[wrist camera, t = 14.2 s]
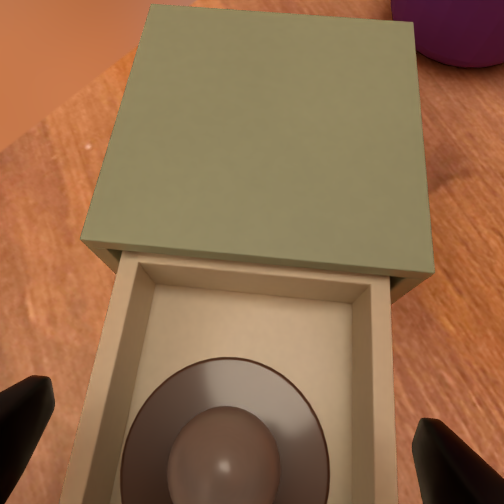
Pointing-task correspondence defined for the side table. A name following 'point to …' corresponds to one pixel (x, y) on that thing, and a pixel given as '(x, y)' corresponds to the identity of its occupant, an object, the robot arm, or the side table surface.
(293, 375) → the drawer
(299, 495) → the pepper mill
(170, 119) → the cabinet
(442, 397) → the side table surface
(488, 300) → the side table surface
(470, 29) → the mug
